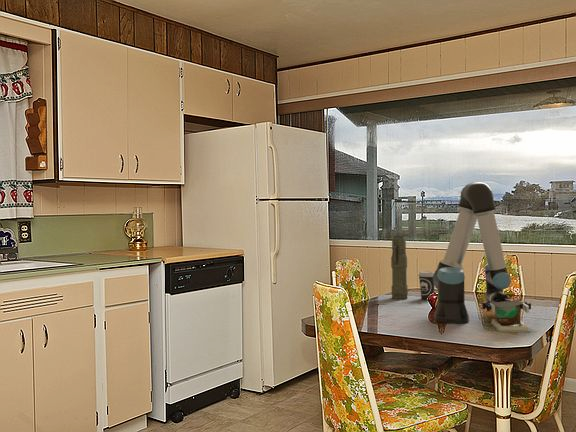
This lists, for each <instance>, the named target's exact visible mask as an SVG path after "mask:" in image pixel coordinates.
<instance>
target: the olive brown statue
mask: <svg viewBox="0 0 576 432" xmlns="http://www.w3.org/2000/svg"><path fill="white" fill-rule="evenodd" d="M391 250H392V253H391V257H390V258H391V259H390V260H391V261H390V262H391V263H390V264H391V272H392V273H391V276H392V277H391V278H392V284H391V299H393V300H397V301H400V300H401V301H403V300H408V299H409V298H408V294H409V292H408V291H409V289H408V285H407V284H408V282H407V277H408V276H407V268H408V256H407V252H406V250H407V240H406V238H405V236H403V235H394V236H393V237H392V241H391Z"/></svg>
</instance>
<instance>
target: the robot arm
mask: <svg viewBox="0 0 576 432" xmlns="http://www.w3.org/2000/svg"><path fill="white" fill-rule="evenodd" d="M457 209H458V211H459V213H458V216H457V219H456V221H455V225H454V227H453V230H452V234H451V236H450V239H449V242H448V245H447V248H446V252H445V255H444V258H443V259H442V260H439V263H438V265H437V268H436V270H435V271H433V272H434V274H433V283H434V288H436V290H437V298H438V299H437V305H436V309H435V311H434V315H433V317H434V321H436V322H438V323H442V324H465V323H469V321H470V317H469V313H468V309H467V307H466V304H465V301H466V300H465V278H466V277H465V276H466V275H465V272H464V271H465V270H464V267H463V265H462V264H463V262H464V259H465V256H466V252H467V250H468V247H469V244H470V241H471V238H472V235H473V233H474V229H475V226H476V223H477V224H478V227H479V232H480V236H481V241H482V244H483V245H482V246H483V249H484V254H485V258H486V261H487V264H485V265H484V273H485V274H484V276H485V278H484V279H485V293H484V297H485V299H486V300H485V301H483V302H482V303H481V304H482V305H481V306H482V307H481V308H482V310H485V309H486V312H490V311H491V312H492V313H495V306H494V305H493V304H492V301H494V302H503V301H516V300H517V299H515V300H513V299H510V297H508V295H506V293H504V290H506V289H507V288H509V287H510V286H511V283H512V279H511V276H510V275H509V274H508V269H507V266H506V265H507V264H506V261H505V257H504V255H505V254H504V252H503V247H502V241H501V239H500V233H499V229H498V224H497V221H496V219H497V218H496V216H495V215H496V214H495V212H496V205H495V199H494V195H493V191H492V189H491V187H490V186H489V185H488V184H486V183H484V182H480V181H478V182H470V183H468V184H466V185H465V186H464V187H463V188H462V189H461V191H460V199H459V202H458V205H457ZM520 301H521V300H520ZM531 309H532V303H530V302H527V301H521V305H520V310H523V312H525V313H527V314H529V313H530V312H529V311H530V310H531Z"/></svg>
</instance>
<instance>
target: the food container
mask: <svg viewBox="0 0 576 432" xmlns="http://www.w3.org/2000/svg"><path fill="white" fill-rule="evenodd" d="M515 300H516V301H515ZM515 300H513V301H503V302H494V301H492V304H493V305H494V306H495V314H494V315H495V318H496V321H497V322H498V323H499V324H500V325H515V324H519V323H521V321H522V320H521V309H520V305H521V300H520V299H515Z"/></svg>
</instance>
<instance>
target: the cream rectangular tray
mask: <svg viewBox="0 0 576 432" xmlns="http://www.w3.org/2000/svg"><path fill="white" fill-rule="evenodd" d="M490 324H491V325H492V326H493V327H494V329H496V331H498V332H499V333H503V332H504V333H508V332H510V333H530V329H529V326H528V325H526V324H525V323H524V322H523V321H522V320H521V323H519V324H515V325H500V324H499V323H498V322H497V319H491V321H490Z"/></svg>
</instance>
